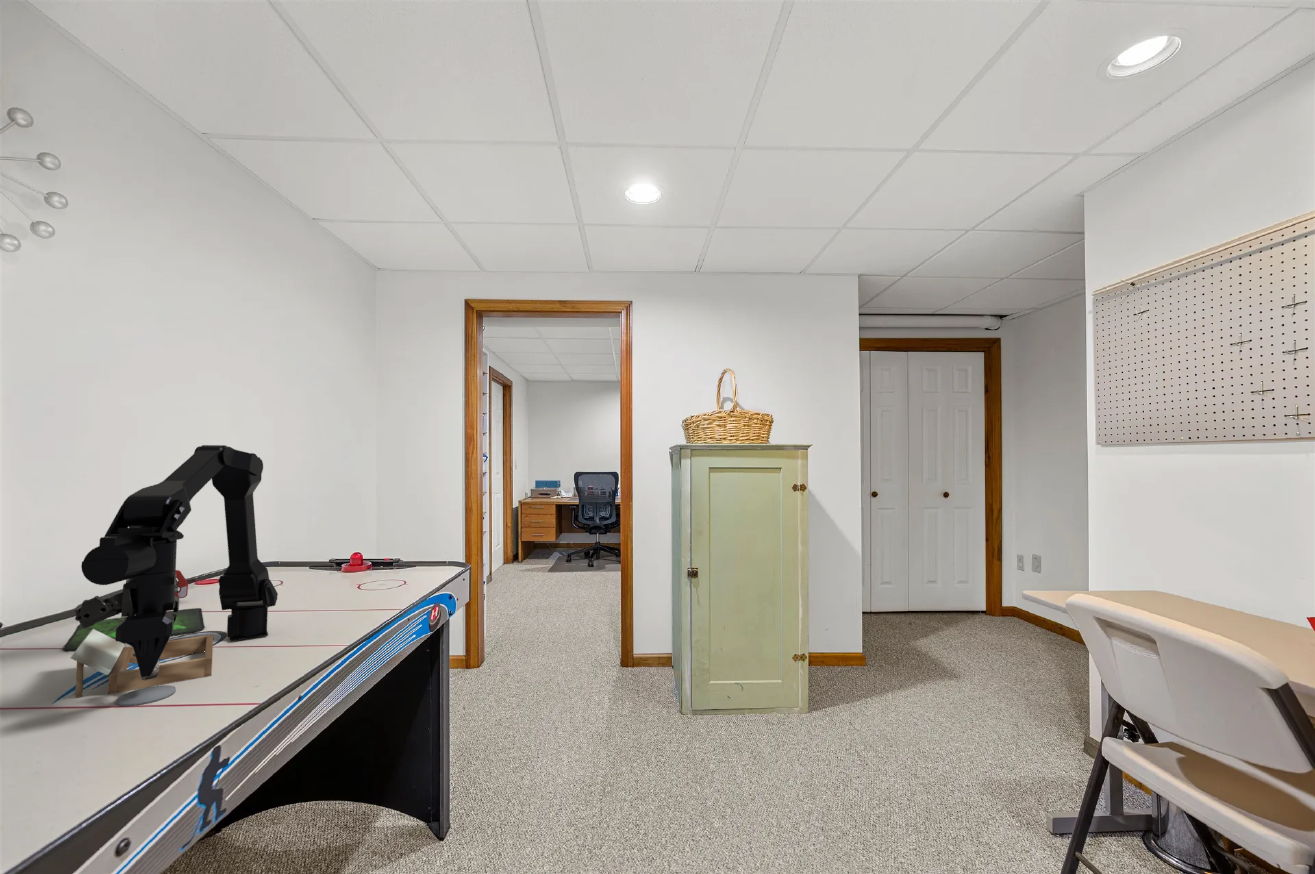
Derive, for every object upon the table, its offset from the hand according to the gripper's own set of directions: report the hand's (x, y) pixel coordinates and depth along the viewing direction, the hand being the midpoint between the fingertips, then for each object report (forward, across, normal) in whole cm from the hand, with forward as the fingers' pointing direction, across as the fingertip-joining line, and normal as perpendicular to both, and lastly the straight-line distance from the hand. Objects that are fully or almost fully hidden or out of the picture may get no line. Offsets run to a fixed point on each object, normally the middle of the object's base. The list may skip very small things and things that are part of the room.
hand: (148, 669), depth 89 cm
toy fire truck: (+5, -74, -4) cm, 75 cm away
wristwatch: (+2, 0, 0) cm, 2 cm away
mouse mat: (+5, -51, -5) cm, 52 cm away
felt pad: (+4, 0, 0) cm, 4 cm away
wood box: (+4, -13, -1) cm, 14 cm away
